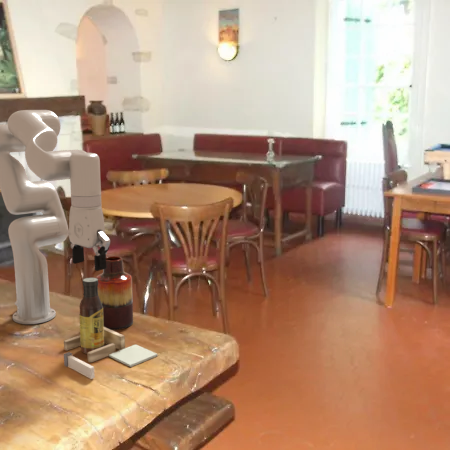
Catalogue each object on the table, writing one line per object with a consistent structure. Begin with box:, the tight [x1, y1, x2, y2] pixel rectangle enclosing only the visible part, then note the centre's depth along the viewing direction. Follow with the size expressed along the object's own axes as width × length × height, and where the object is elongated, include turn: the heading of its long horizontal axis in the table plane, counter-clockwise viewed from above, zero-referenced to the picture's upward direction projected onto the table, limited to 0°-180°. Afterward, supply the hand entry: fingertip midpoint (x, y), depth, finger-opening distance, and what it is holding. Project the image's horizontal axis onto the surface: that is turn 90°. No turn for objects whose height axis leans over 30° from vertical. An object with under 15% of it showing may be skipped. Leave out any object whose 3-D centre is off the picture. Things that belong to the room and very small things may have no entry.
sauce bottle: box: [78, 277, 105, 355], centre depth 159 cm, size 7×6×20 cm
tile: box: [108, 344, 158, 368], centre depth 158 cm, size 9×9×1 cm
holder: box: [63, 327, 126, 363], centre depth 161 cm, size 12×11×4 cm
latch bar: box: [63, 351, 96, 380], centre depth 148 cm, size 11×2×3 cm, turn 48°
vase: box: [95, 255, 134, 331], centre depth 178 cm, size 11×11×20 cm
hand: (89, 266), depth 156 cm, fingers open, 9 cm apart
